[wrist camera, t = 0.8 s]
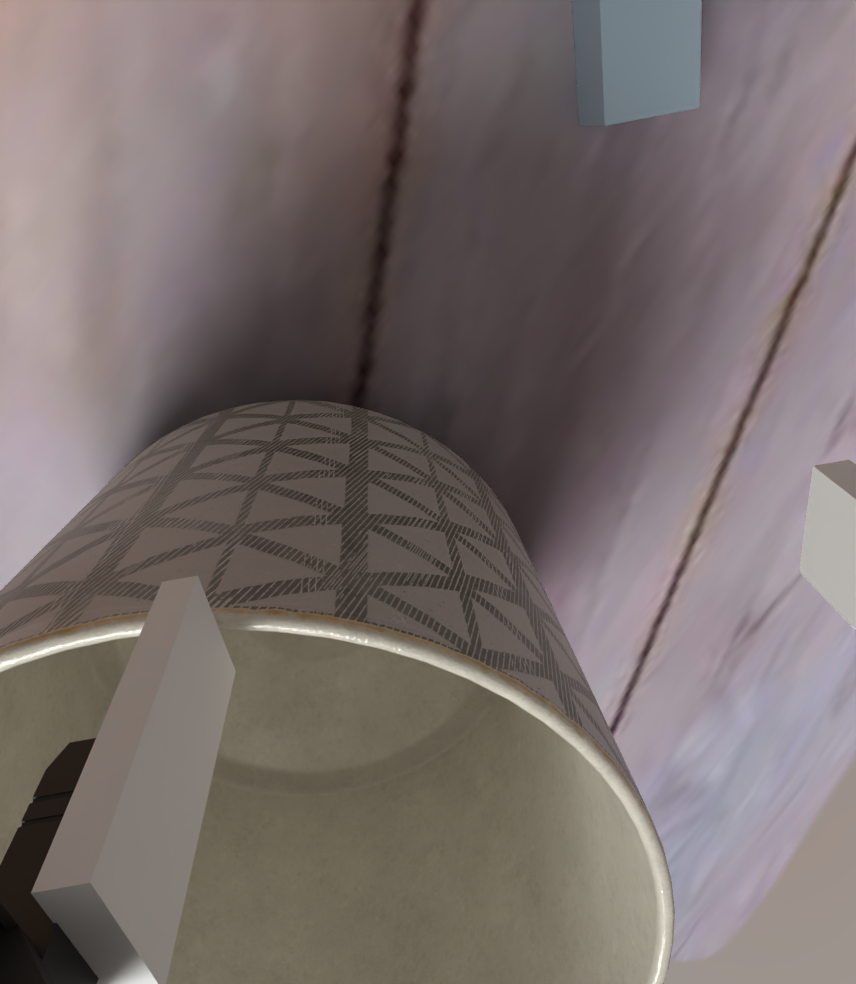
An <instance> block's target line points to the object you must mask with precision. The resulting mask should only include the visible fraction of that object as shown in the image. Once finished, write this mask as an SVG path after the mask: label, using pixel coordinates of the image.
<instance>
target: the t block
mask: <svg viewBox="0 0 856 984" xmlns="http://www.w3.org/2000/svg"><path fill="white" fill-rule="evenodd" d="M572 14H573V32H574V49H575V67H576V85H577V102H578V120H579V126H608V125H613V124H619V123H624V122H629V121H634V120H640V119H645V118H650V117H655V116H661V115H666V114H671V113H676V112H681V111H687V110H692V109H697V108H700V72H701V17H702V0H572Z"/></svg>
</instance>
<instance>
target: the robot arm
mask: <svg viewBox="0 0 856 984" xmlns="http://www.w3.org/2000/svg"><path fill="white" fill-rule="evenodd" d="M799 572H800V573H801V574H802V575H803V576H804V577H805V578H806V579H807V580H808V581H809V582H810V583H811V584H812V586H813V587H814V588H815V589H816V590H817V591H818V592H819V593H820V594H821V595H822V596H823V597H824V598H825V599H826V600H827V601H828V602H829V603H830V604H831V605H832V607H833V608H834V609H835V610H836V611H837V612H838V613H839V614H840V615H841V616H842V617H843V618H844V619H845V620H846V621H847V622H848V623H849V624H850V625H851V627H852V628H853V629H854V630H855V631H856V464H854V463H853V462H852V461H850V460H844V461H839V462H833V463H828V464H822V465H816V466H813V471H812V479H811V486H810V493H809V501H808V508H807V515H806V523H805V530H804V538H803V545H802V552H801V560H800V567H799ZM235 672H236V671H235V668H234V666H233V663H232V661H231V658H230V656H229V653H228V651H227V648H226V646H225V643H224V641H223V638H222V635H221V633H220V630H219V628H218V625H217V623H216V620H215V618H214V615H213V613H212V610H211V608H210V605H209V602H208V600H207V597H206V595H205V592H204V590H203V587H202V585H201V582H200V580H199V577H198V576H192V577H186V578H181V579H175V580H170V581H164V582H162V583H161V585H160V588H159V590H158V593H157V595H156V597H155V600H154V602H153V604H152V607H151V609H150V612H149V614H148V616H147V619H146V621H145V623H144V626H143V628H142V631H141V633H140V635H139V638H138V640H137V642H136V645H135V647H134V650H133V652H132V654H131V657H130V659H129V661H128V664H127V666H126V669H125V671H124V673H123V676H122V678H121V680H120V683H119V685H118V688H117V690H116V692H115V695H114V697H113V699H112V702H111V704H110V707H109V709H108V711H107V714H106V716H105V718H104V721H103V723H102V725H101V728H100V730H99V733H98V735H97V737H96V738H93V739H87V740H81V741H76V742H70V743H69V744H68V745H67V746H66V747H65V748H64V749H63V751H62V752H61V753H60V754H59V755H58V756H57V757H56V758H55V760H54V761H53V762H52V763H51V764H50V765H49V766H48V768H47V769H46V770H45V772H44V775H43V777H42V779H41V781H40V783H39V785H38V787H37V789H36V791H35V793H34V795H33V802H32V803H30V804H29V806H28V808H27V810H26V812H25V814H24V816H23V818H22V821H21V822H22V825H21V827H18V829H17V831H16V833H15V835H14V837H13V839H12V842H11V844H10V846H9V848H8V850H7V852H6V854H5V856H4V858H3V860H2V862H1V865H0V984H97V982H98V983H99V984H166V982H167V977H168V973H169V968H170V964H171V959H172V955H173V950H174V946H175V941H176V937H177V932H178V928H179V924H180V919H181V915H182V910H183V906H184V901H185V897H186V892H187V888H188V883H189V879H190V874H191V870H192V865H193V861H194V856H195V852H196V847H197V843H198V838H199V834H200V829H201V825H202V820H203V816H204V811H205V807H206V802H207V798H208V793H209V789H210V784H211V780H212V775H213V771H214V766H215V762H216V757H217V753H218V748H219V744H220V739H221V735H222V730H223V726H224V722H225V717H226V713H227V708H228V704H229V699H230V695H231V690H232V686H233V681H234V677H235Z"/></svg>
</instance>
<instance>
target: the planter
mask: <svg viewBox="0 0 856 984" xmlns="http://www.w3.org/2000/svg"><path fill="white" fill-rule="evenodd" d="M192 576H198V577H199V580H200V582H201V585H202V587H203V590H204V592H205V595H206V597H207V600H208V602H209V605H210V608H211V610H212V613H213V615H214V618H215V620H216V623H217V625H218V628H219V630H220V633H221V635H222V638H223V641H224V643H225V646H226V648H227V651H228V653H229V656H230V658H231V661H232V663H233V666H234V668H235V671H236V672H235V677H234V681H233V686H232V690H231V695H230V699H229V704H228V708H227V713H226V717H225V722H224V726H223V730H222V735H221V739H220V744H219V748H218V753H217V757H216V762H215V766H214V771H213V775H212V780H211V784H210V789H209V793H208V798H207V802H206V807H205V811H204V816H203V820H202V825H201V829H200V834H199V838H198V843H197V847H196V852H195V856H194V861H193V865H192V870H191V874H190V879H189V883H188V888H187V892H186V897H185V901H184V906H183V910H182V915H181V919H180V924H179V928H178V932H177V937H176V941H175V946H174V950H173V955H172V959H171V964H170V968H169V973H168V977H167V982H166V984H664V981H665V978H666V974H667V971H668V968H669V962H670V957H671V951H672V945H673V936H674V914H675V911H674V901H673V891H672V882H671V878H670V874H669V869H668V865H667V861H666V857H665V853H664V849H663V846H662V843H661V841H660V838H659V836H658V833H657V831H656V828H655V826H654V823H653V821H652V818H651V816H650V814H649V812H648V810H647V808H646V805H645V803H644V801H643V799H642V797H641V795H640V793H639V791H638V788H637V786H636V784H635V782H634V780H633V778H632V776H631V774H630V771H629V769H628V767H627V765H626V763H625V761H624V759H623V756H622V754H621V752H620V750H619V748H618V746H617V744H616V742H615V739H614V737H613V735H612V733H611V731H610V729H609V727H608V725H607V722H606V720H605V718H604V716H603V714H602V712H601V710H600V708H599V705H598V703H597V701H596V699H595V697H594V695H593V693H592V690H591V688H590V686H589V684H588V682H587V680H586V678H585V676H584V673H583V671H582V669H581V667H580V665H579V663H578V661H577V659H576V656H575V654H574V652H573V650H572V648H571V646H570V644H569V641H568V639H567V637H566V635H565V633H564V631H563V629H562V627H561V624H560V622H559V620H558V618H557V616H556V614H555V612H554V610H553V607H552V605H551V603H550V601H549V599H548V597H547V595H546V592H545V590H544V588H543V586H542V584H541V582H540V580H539V578H538V575H537V573H536V571H535V569H534V567H533V565H532V563H531V561H530V558H529V556H528V554H527V552H526V550H525V548H524V546H523V544H522V541H521V539H520V537H519V535H518V533H517V531H516V529H515V526H514V525H513V523H512V521H511V519H510V517H509V515H508V513H507V512H506V510H505V508H504V506H503V505H502V504H501V502H500V501H499V499H498V498H497V496H496V495H495V494H494V492H493V491H492V489H491V488H490V487H489V486H488V485H487V484H486V482H485V481H484V480H483V479H482V478H481V477H480V476H479V474H478V473H477V472H476V471H475V470H473V469H472V468H471V467H470V466H469V465H468V464H467V463H466V462H465V461H464V460H463V459H462V458H460V457H459V456H458V455H457V454H455V453H454V452H453V451H451V450H450V449H449V448H447V447H446V446H445V445H443V444H442V443H440V442H439V441H437V440H436V439H434V438H432V437H431V436H429V435H427V434H426V433H424V432H422V431H420V430H418V429H416V428H414V427H412V426H410V425H408V424H406V423H404V422H402V421H400V420H397V419H394V418H392V417H389V416H386V415H383V414H381V413H378V412H374V411H371V410H367V409H363V408H360V407H356V406H352V405H346V404H340V403H334V402H327V401H313V400H277V401H268V402H260V403H252V404H247V405H243V406H238V407H234V408H229V409H225V410H222V411H219V412H216V413H213V414H210V415H207V416H204V417H202V418H199V419H197V420H195V421H193V422H190V423H188V424H186V425H184V426H181V427H179V428H178V429H176V430H174V431H172V432H171V433H169V434H167V435H165V436H164V437H162V438H160V439H159V440H157V441H156V442H155V443H153V444H152V445H150V446H149V447H148V448H146V449H145V450H143V451H142V452H141V453H140V454H138V455H137V456H136V457H135V458H134V459H133V460H132V461H131V462H130V463H128V464H127V465H126V466H125V467H124V468H123V469H122V470H121V471H120V472H119V473H118V474H117V475H116V476H115V477H114V478H113V479H112V480H111V481H110V482H109V483H108V484H107V485H106V486H105V487H104V488H103V489H102V490H101V491H100V492H99V493H98V494H97V495H96V496H95V497H94V498H93V499H92V500H91V501H90V502H89V503H88V504H87V505H86V506H85V507H84V508H83V509H82V510H81V511H80V512H79V513H78V514H77V515H76V516H75V517H74V518H73V519H72V520H71V521H70V522H69V523H68V524H67V525H66V526H65V527H64V528H63V529H62V530H61V531H60V532H59V533H58V534H57V535H56V536H55V537H54V538H53V539H52V540H51V541H50V542H49V543H48V544H47V545H46V546H45V547H44V548H43V549H42V550H41V551H40V552H39V553H38V554H37V555H36V556H35V557H34V558H33V559H32V560H31V561H30V562H29V563H28V564H27V565H26V566H25V567H24V568H23V569H22V570H21V571H20V572H19V573H18V574H17V575H16V576H15V577H14V578H13V579H12V580H11V581H10V582H9V583H8V584H7V585H6V586H5V587H4V588H3V589H2V590H1V591H0V865H1V862H2V860H3V858H4V856H5V854H6V852H7V850H8V848H9V846H10V844H11V842H12V839H13V837H14V835H15V833H16V831H17V829H18V827H21V825H22V822H21V821H22V818H23V816H24V814H25V812H26V810H27V808H28V806H29V804H30V803H32V802H33V795H34V793H35V791H36V789H37V787H38V785H39V783H40V781H41V779H42V777H43V775H44V772H45V770H46V769H47V768H48V766H49V765H50V764H51V763H52V762H53V761H54V760H55V758H56V757H57V756H58V755H59V754H60V753H61V752H62V751H63V749H64V748H65V747H66V746H67V745H68V744H69V743H70V742H76V741H81V740H87V739H93V738H96V737H97V735H98V733H99V730H100V728H101V725H102V723H103V721H104V718H105V716H106V714H107V711H108V709H109V707H110V704H111V702H112V699H113V697H114V695H115V692H116V690H117V688H118V685H119V683H120V680H121V678H122V676H123V673H124V671H125V669H126V666H127V664H128V661H129V659H130V657H131V654H132V652H133V650H134V647H135V645H136V642H137V640H138V638H139V635H140V633H141V631H142V628H143V626H144V623H145V621H146V619H147V616H148V614H149V612H150V609H151V607H152V604H153V602H154V600H155V597H156V595H157V593H158V590H159V588H160V585H161V583H162V582H164V581H170V580H175V579H181V578H186V577H192ZM97 984H99V983H98V982H97Z"/></svg>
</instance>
